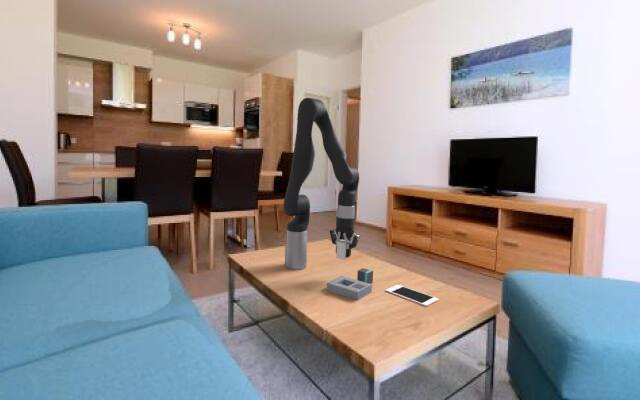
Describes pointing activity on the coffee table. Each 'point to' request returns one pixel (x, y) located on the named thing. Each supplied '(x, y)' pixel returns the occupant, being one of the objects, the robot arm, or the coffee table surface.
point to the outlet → (349, 287)
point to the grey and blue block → (365, 275)
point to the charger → (341, 250)
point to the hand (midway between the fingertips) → (343, 255)
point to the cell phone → (412, 295)
